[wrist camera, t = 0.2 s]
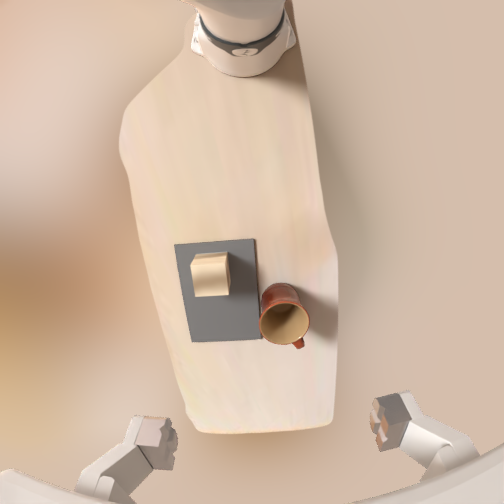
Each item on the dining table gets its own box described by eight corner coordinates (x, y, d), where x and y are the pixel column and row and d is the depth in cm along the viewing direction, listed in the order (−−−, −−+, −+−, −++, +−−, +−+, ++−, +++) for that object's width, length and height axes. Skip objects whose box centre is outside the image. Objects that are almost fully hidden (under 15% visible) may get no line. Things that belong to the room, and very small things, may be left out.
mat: (174, 244, 57) (174, 245, 57) (253, 238, 57) (253, 239, 57) (192, 340, 65) (191, 342, 64) (260, 337, 64) (260, 338, 64)
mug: (249, 290, 61) (249, 316, 51) (288, 269, 59) (296, 293, 50) (277, 333, 64) (281, 363, 54) (314, 315, 63) (324, 343, 53)
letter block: (196, 253, 58) (190, 265, 52) (227, 251, 57) (225, 263, 52) (200, 282, 59) (195, 296, 54) (230, 281, 59) (228, 294, 54)
